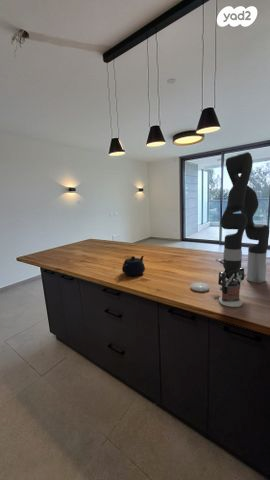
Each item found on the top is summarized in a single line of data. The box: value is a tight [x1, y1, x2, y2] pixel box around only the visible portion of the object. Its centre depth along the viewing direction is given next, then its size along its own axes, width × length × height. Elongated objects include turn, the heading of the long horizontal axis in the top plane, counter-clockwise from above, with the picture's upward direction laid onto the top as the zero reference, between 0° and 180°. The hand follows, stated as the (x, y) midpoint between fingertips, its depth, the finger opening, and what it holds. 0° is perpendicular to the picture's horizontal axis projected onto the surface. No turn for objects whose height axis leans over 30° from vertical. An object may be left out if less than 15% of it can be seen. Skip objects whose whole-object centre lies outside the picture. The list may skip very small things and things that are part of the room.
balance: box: [215, 258, 247, 291], centre depth 112 cm, size 5×18×16 cm, turn 27°
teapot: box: [121, 255, 146, 277], centre depth 146 cm, size 25×16×12 cm, turn 145°
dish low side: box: [218, 295, 243, 308], centre depth 99 cm, size 10×10×2 cm
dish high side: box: [190, 282, 210, 292], centre depth 117 cm, size 10×10×2 cm
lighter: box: [221, 279, 241, 302], centre depth 98 cm, size 8×3×10 cm, turn 90°
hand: (231, 291), depth 98 cm, fingers open, 8 cm apart
